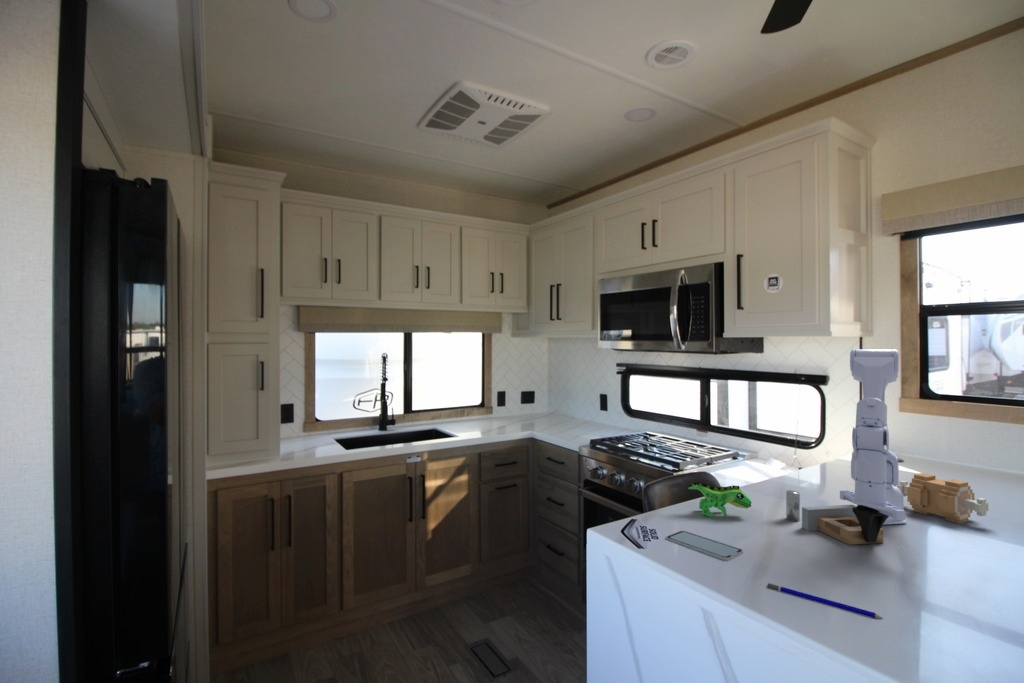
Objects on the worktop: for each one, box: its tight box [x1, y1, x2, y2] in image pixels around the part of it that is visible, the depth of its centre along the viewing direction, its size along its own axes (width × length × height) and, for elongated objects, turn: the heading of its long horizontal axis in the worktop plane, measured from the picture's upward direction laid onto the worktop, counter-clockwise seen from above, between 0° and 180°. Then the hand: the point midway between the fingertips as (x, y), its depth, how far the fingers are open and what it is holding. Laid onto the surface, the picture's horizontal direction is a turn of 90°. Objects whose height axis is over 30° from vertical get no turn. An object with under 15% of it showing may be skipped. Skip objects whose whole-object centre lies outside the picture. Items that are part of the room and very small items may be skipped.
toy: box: [687, 482, 752, 518], centre depth 128 cm, size 6×16×10 cm, turn 78°
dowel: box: [785, 489, 801, 522], centre depth 125 cm, size 3×3×7 cm
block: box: [816, 516, 885, 546], centre depth 114 cm, size 9×9×3 cm
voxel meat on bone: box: [896, 472, 989, 524], centre depth 129 cm, size 10×18×10 cm, turn 24°
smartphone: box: [665, 530, 744, 562], centre depth 108 cm, size 7×1×15 cm
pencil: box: [766, 582, 884, 620], centre depth 84 cm, size 17×1×1 cm, turn 51°
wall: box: [801, 504, 857, 531], centre depth 119 cm, size 14×2×5 cm, turn 99°
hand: (870, 541), depth 109 cm, fingers closed
